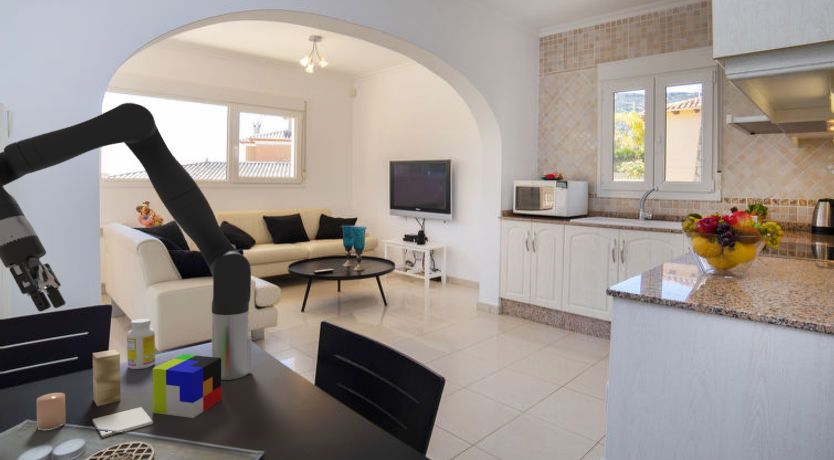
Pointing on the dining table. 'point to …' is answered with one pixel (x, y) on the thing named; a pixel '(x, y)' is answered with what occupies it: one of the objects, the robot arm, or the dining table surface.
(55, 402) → the peach short upright block
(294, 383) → the dining table surface
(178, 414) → the puzzle toy
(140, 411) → the coaster
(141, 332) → the supplement bottle
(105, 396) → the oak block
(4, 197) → the robot arm
